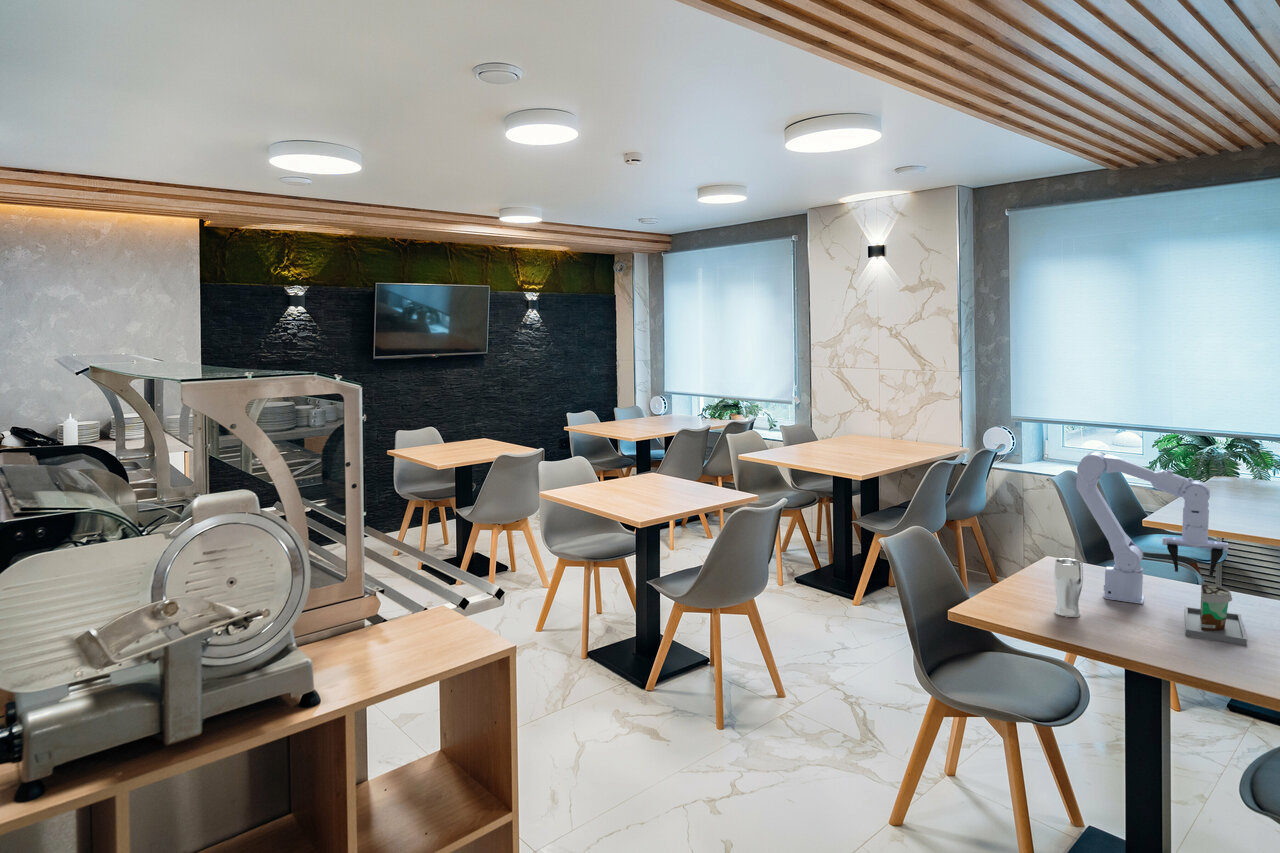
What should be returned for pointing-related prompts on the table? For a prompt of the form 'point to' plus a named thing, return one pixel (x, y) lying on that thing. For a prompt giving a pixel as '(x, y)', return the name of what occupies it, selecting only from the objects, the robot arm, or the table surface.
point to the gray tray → (1230, 634)
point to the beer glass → (1068, 586)
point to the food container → (1214, 606)
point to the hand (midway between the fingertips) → (1193, 572)
